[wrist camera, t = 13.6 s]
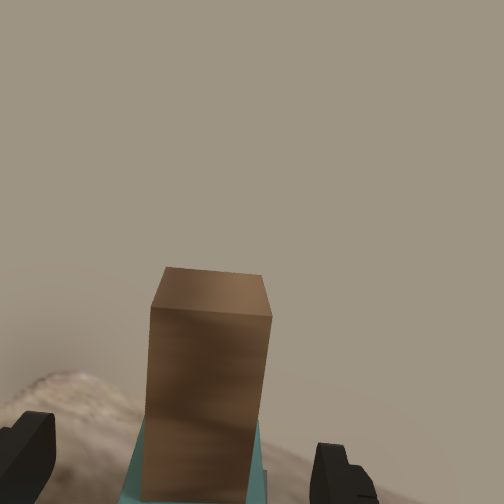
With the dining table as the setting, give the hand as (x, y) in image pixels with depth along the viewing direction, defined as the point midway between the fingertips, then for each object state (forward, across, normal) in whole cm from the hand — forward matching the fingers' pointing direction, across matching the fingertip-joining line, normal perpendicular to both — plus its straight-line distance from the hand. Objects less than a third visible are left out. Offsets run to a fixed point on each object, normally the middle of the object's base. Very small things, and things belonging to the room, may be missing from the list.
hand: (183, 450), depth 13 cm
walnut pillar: (+8, 0, +8) cm, 11 cm away
